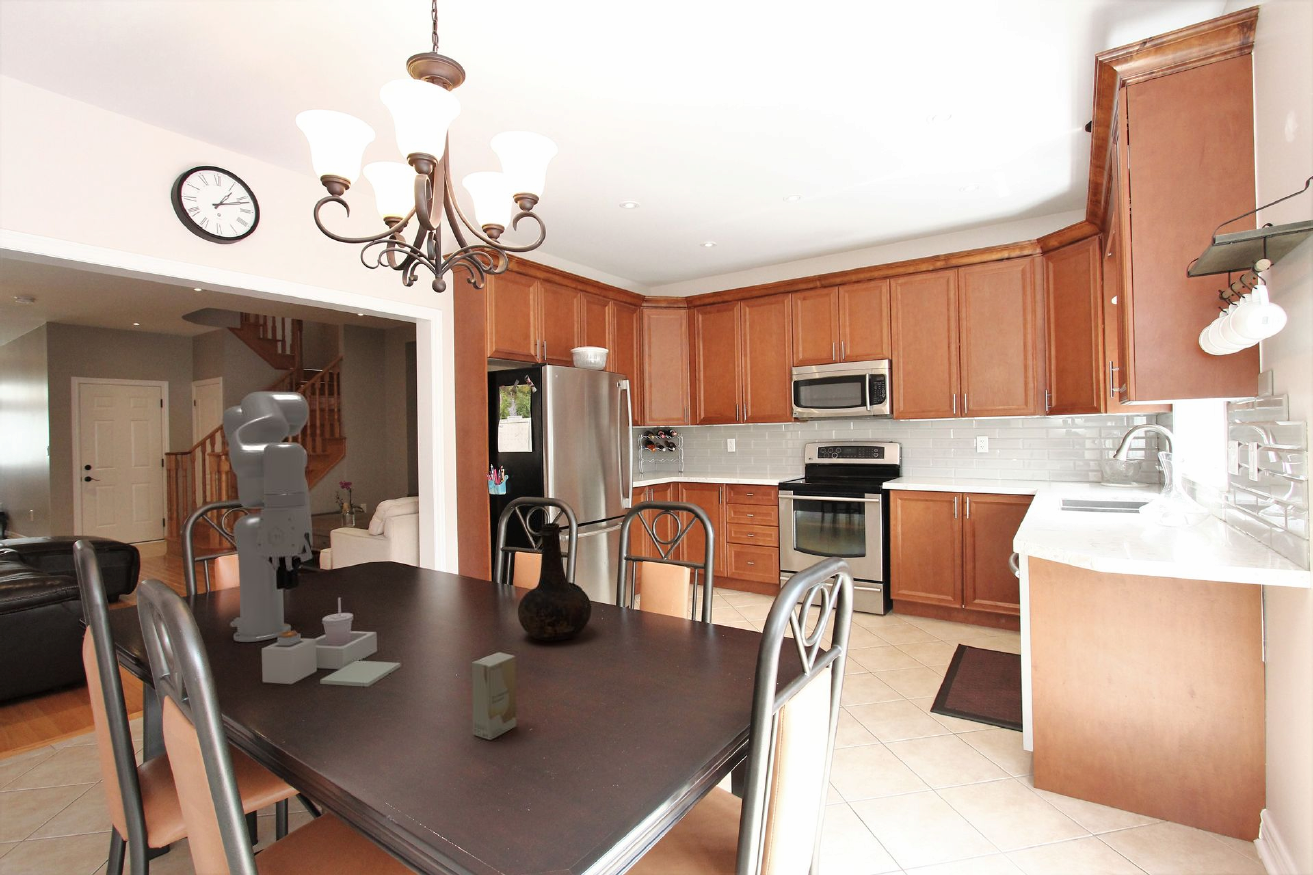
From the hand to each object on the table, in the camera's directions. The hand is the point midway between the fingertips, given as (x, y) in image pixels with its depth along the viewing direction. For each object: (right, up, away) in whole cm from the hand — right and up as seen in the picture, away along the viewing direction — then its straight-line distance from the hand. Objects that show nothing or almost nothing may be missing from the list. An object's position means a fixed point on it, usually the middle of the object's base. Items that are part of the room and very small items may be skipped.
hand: (287, 587), depth 132 cm
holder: (+6, -19, +10) cm, 22 cm away
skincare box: (+51, -18, -27) cm, 60 cm away
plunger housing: (+1, -19, 0) cm, 19 cm away
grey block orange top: (0, -16, 0) cm, 16 cm away
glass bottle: (+53, -18, +23) cm, 61 cm away
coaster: (+16, -19, 0) cm, 24 cm away
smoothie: (+6, -19, +10) cm, 22 cm away
